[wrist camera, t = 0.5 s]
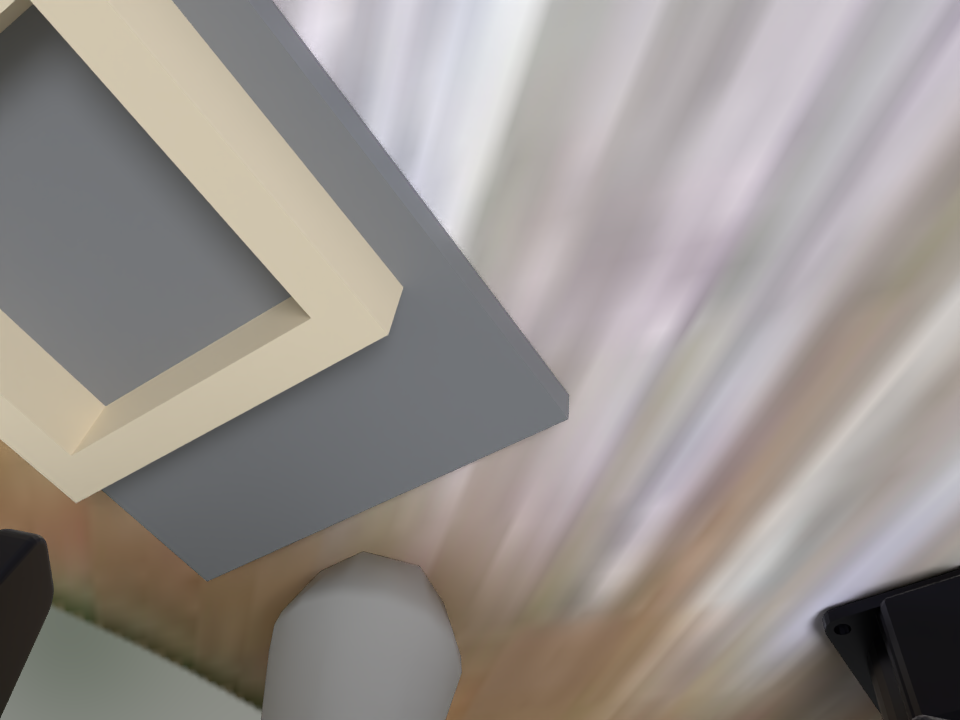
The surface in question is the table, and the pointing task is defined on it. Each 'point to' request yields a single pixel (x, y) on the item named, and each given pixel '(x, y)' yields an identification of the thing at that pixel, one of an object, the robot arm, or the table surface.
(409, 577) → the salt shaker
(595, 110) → the table surface
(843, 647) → the robot arm
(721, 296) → the table surface
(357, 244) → the build board
